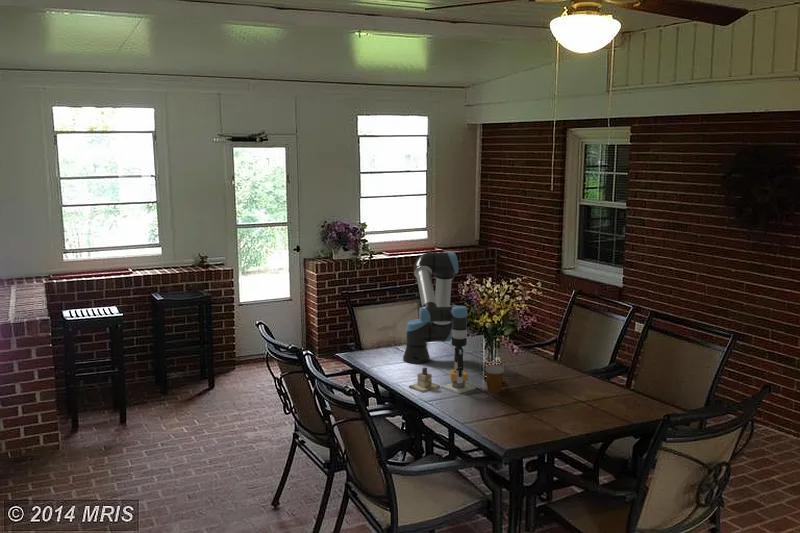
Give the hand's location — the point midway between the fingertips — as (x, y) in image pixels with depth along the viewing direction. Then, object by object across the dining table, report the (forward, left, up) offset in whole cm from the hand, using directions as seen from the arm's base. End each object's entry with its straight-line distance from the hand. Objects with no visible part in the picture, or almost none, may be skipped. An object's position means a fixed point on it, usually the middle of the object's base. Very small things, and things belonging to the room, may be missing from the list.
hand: (458, 378), depth 367 cm
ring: (0, 0, 0) cm, 0 cm away
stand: (+12, -12, -5) cm, 18 cm away
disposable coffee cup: (-11, +14, -5) cm, 19 cm away
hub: (0, 0, -5) cm, 5 cm away
